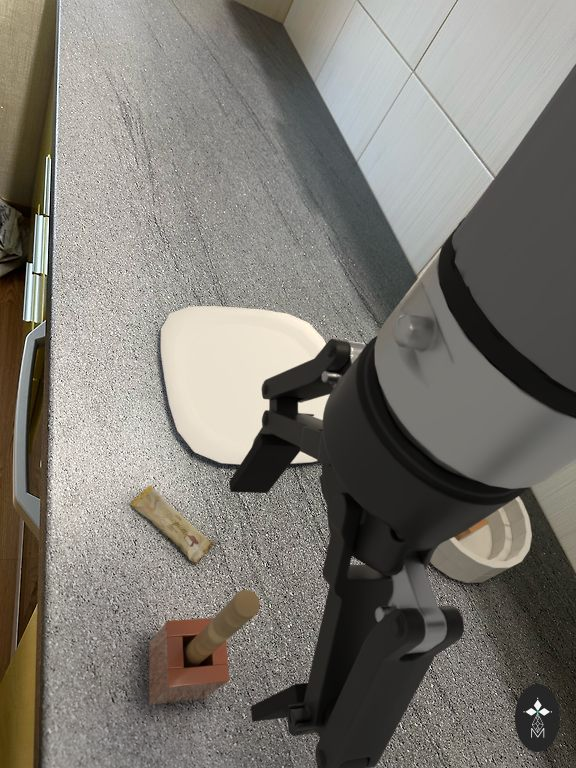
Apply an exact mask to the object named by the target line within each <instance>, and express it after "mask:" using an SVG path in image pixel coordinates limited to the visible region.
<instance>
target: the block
mask: <svg viewBox="0 0 576 768" xmlns="http://www.w3.org/2000/svg"><path fill="white" fill-rule="evenodd" d="M487 524H488V522H487V520H486V519H483V520H482V521H480V522H479V523H477V524H475V525H474V526H472V527H471V528H469V529H468V530H466V531H464V532H463V533H461V534H459V535H457V536H455V538H456V540H457V541H460V540H462V539H464V538H466V537H467V536H469V535H471V534H473V533H475V532H476V531H478V530H479V529H481V528H482V527H484V526H485V525H487Z"/></svg>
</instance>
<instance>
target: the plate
mask: <svg viewBox="0 0 576 768" xmlns="http://www.w3.org/2000/svg"><path fill="white" fill-rule="evenodd" d="M326 344H327V342H326V341H325V339H324V337H323V336H321V334H320V333H319V332H318V331H317V330H316V329H315V327H313V326H312V324H311V323H309V322H308V321H305V320H304V319H301V318H299V317H297V316H294V315H292V314H290V313H286V312H279V311H274V310H268V309H260V308H259V309H258V308H248V307H234V306H233V307H232V306H219V305H204V306H203V305H200V306H199V305H197V306H196V305H195V306H194V305H193V306H186V307H184V308H181V309H178V310H176V311H173V312H171V313H169V314H168V316H167V317H166V320H165V321H164V323H163V325H162V326H161V329H160V358H161V366H162V373H163V380H164V386H165V392H166V397H167V402H168V407H169V410H170V413H171V416H172V419H173V423H174V426H175V429H176V432H177V433H178V435H179V436H180V437H181V438H182V440H183V441H184V442H185V444H186V445H187V446H188V447H189V449H190V450H191V451H192V453H193V454H195V455H198V456H200V457H203V458H205V459H208V460H210V461H212V462H215V463H217V464H220V465H231V466H232V465H234V466H240V464H241V463H242V461H243V460H244V458H245V457H246V455H247V454H248V452H249V451H250V449H251V448H252V445H253V442H254V439H255V437H256V436H257V434H258V433H259V431H260V430H261V428H262V417H263V413H264V411H265V410H269V400H268V399H263V397H262V384H263V383H264V381H265V380H266V379H269V378H271V377H273V376H275V375H278V374H280V373H282V372H285V371H287V370H289V369H291V368H294V367H296V366H298V365H301V364H303V363H305V362H307V361H310V360H312V359H314V358H315V357H316V356H317V355H318V353H319V352H320V351H321V350H322V349H323V347H324V346H325V345H326ZM329 395H330V394H329ZM329 395H325V396H322V397H319V398H315V399H312V400H308V401H305V402H301V403H299V402H298V413H305V414H314V416H312V417H315V418H318V419H321V420H323V413H324V409H325V405H326V402H327V400H328V398H329ZM312 463H318V462H317V459H315V458H313V457H311V456H309V455H307V454H305V453H303V452H301V451H300V452H299V453H298V455H297V456H296V457H295V458H294V460H293V461H292V462H291V463H290V465H297V464H298V465H299V464H312Z"/></svg>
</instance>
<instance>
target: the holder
mask: <svg viewBox="0 0 576 768" xmlns="http://www.w3.org/2000/svg"><path fill="white" fill-rule="evenodd" d="M213 618H214V617H207V618H193V619H192V618H191V619H190V618H189V619H174V620H173V619H172V620H166V621H165V623H164V624H163V625H162V627H161V628H160V629H159V630H158V632H157V633H156V634H155V635H154V637H153V638H152V640H151V641H150V642H149V644H148V705H150V706H151V705H158V704H159V705H161V704H168V703H176V702H178V703H179V702H186V701H187V702H188V701H195V700H203V699H205V698H207V697H208V696H210V695H211V694H213V693H214V692H216V691H217V690H218V689H220V688H221V687H223V686H224V685H226V684H227V683H229V682H230V672H229V670H230V669H229V657H228V656H229V655H228V645H227V640H226V641H225V642H224V643H223V644H222V645H221V646H220V647H218V648H217V649H216V650H215V651H214V652H213V653H212V654H211V655H209V656H208V657H207V658H206V659H205V660H204V661H203V662H201V663H200V664H199V665H198V666H197V667H189V668H184V659H183V649H184V648H185V647H186V646H187V645H188V644H189V643H190V642H191V641H192V640H193V639H194V638H195V637H196V636H197V635H198V634H199V633H200V632H201V631H202V630H203V629H204V628H205V627H206V626H207V624H208V623H209V622H210V621H211V620H212V619H213Z"/></svg>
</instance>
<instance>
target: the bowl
mask: <svg viewBox="0 0 576 768" xmlns="http://www.w3.org/2000/svg"><path fill="white" fill-rule="evenodd" d="M485 519H486V520H487V522H488V524H487V525H485V526H484V527H482V528H481V529H479V530H478V531H476V532H475V533H473V534H471V535H469V536H467V537H466V538H464V539H462V540H460V541H457V540H456V538H455V537H453V538H451V539H449V540H447V541H445V542H443V543H441V544H440V545H439V546H438V547H437V548H436V550H435V551H434V553H433V555H432V558H431V560H430V562H429V563H430V564H431V565H432V566H433V567H434V568H436V569H437V570H438V571H440V572H442V573H443V574H444V575H446V576H447V577H449V578H450V579H454V580H456V581H459V582H462V583H466V584H476V583H484V582H486V581H488V580H490V579H492V578H493V577H495V576H497V575H499V574H501V573H503V572H505V571H507V570H509V569H510V568H513V567H514V566H516V565H518V564H520V563H522V562H523V560H524V559H525V558H526V556H527V554H528V553H529V552H530V550H531V544H532V538H533V534H532V527H531V520H530V516H529V514H528V511H527V509H526V506H525V504H524V501H523V500H522V499H521V497H520V496H518V497H517V498H515V499H514V500H512V501H511V502H509V503H508V504H506V505H505V506H503V507H502V508H500V509H498V510H497V511H495V512H494V513H492V514H491V515H489V516H488V517H486V518H485Z"/></svg>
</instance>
